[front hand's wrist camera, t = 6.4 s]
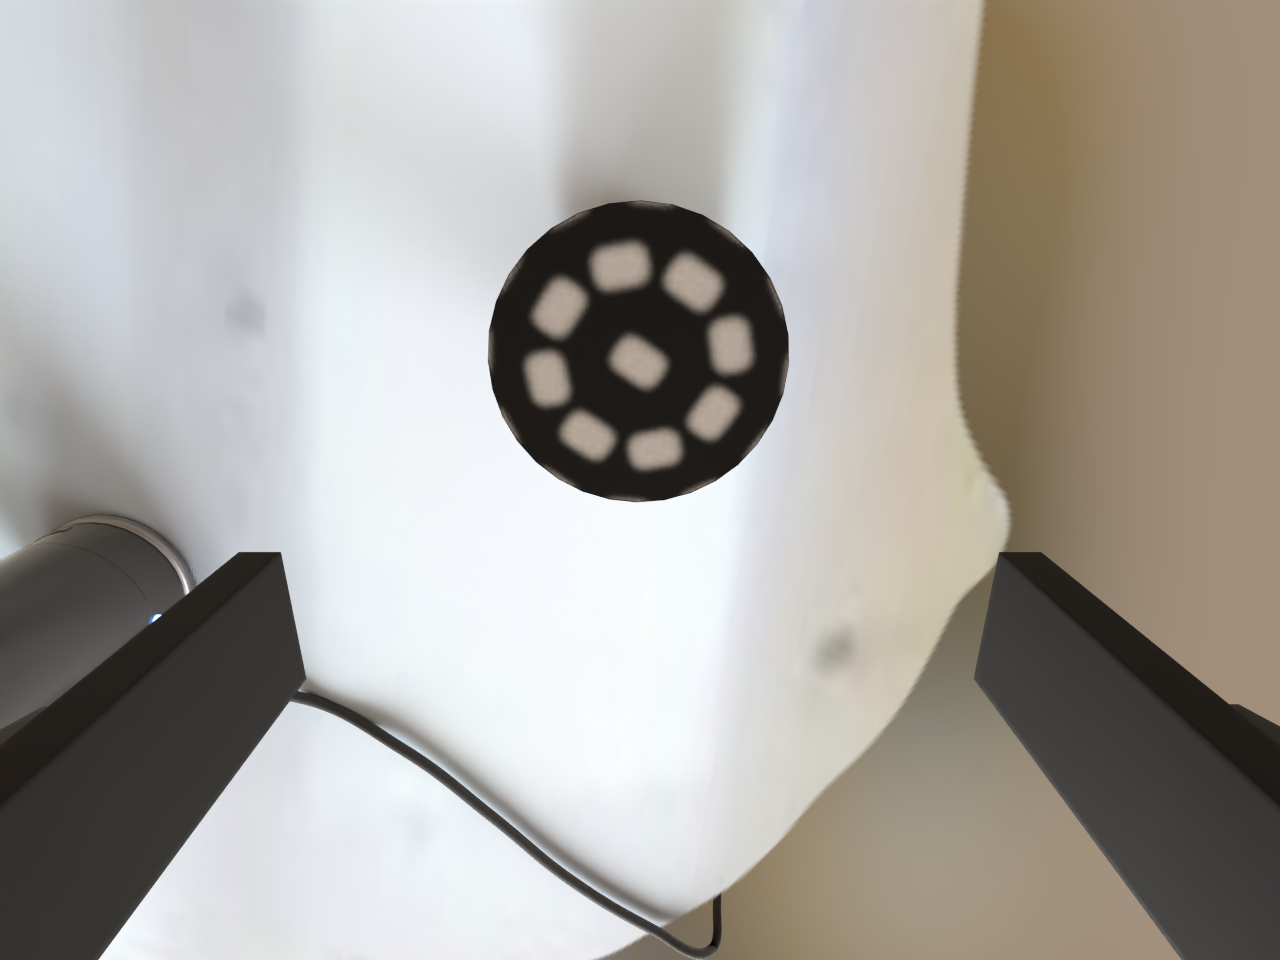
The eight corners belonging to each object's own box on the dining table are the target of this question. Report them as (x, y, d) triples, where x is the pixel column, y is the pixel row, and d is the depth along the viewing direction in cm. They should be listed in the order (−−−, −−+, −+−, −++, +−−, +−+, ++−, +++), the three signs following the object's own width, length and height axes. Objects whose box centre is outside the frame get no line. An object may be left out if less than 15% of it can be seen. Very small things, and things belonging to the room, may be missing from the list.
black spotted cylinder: (535, 315, 38) (433, 400, 19) (618, 181, 36) (595, 129, 17) (657, 398, 40) (673, 551, 21) (745, 275, 37) (851, 323, 19)
